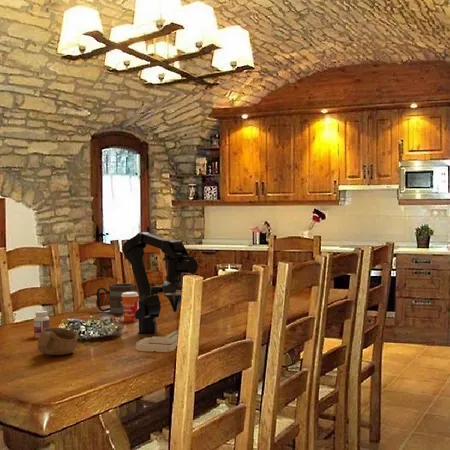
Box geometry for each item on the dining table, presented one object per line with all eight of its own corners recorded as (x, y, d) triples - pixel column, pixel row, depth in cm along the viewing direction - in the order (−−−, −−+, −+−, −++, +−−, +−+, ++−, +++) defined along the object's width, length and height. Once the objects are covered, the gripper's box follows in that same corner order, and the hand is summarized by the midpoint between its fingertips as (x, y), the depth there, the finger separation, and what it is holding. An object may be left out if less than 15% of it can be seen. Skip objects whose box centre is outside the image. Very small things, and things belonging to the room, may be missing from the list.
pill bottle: (49, 336, 269) (48, 309, 268) (50, 339, 263) (50, 312, 262) (33, 337, 266) (32, 310, 266) (34, 340, 261) (34, 313, 260)
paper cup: (118, 324, 293) (117, 293, 292) (127, 321, 300) (126, 291, 299) (133, 325, 290) (133, 294, 289) (142, 322, 297) (141, 291, 296)
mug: (139, 313, 323) (139, 283, 322) (134, 318, 309) (133, 286, 309) (100, 313, 324) (100, 283, 324) (93, 318, 311) (92, 287, 310)
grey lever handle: (165, 336, 236) (178, 327, 235) (174, 331, 246) (187, 322, 244) (170, 343, 236) (183, 334, 234) (178, 338, 245) (191, 329, 244)
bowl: (69, 362, 223) (68, 333, 222) (28, 362, 224) (27, 333, 223) (83, 350, 241) (82, 323, 240) (45, 351, 241) (44, 324, 241)
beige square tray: (134, 351, 237) (134, 343, 237) (148, 343, 250) (147, 336, 250) (170, 353, 234) (170, 345, 234) (182, 345, 247) (182, 337, 247)
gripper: (144, 274, 250) (145, 315, 251) (191, 274, 246) (192, 316, 246) (154, 271, 261) (155, 310, 262) (199, 271, 257) (200, 311, 257)
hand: (175, 312), depth 256 cm, fingers closed
